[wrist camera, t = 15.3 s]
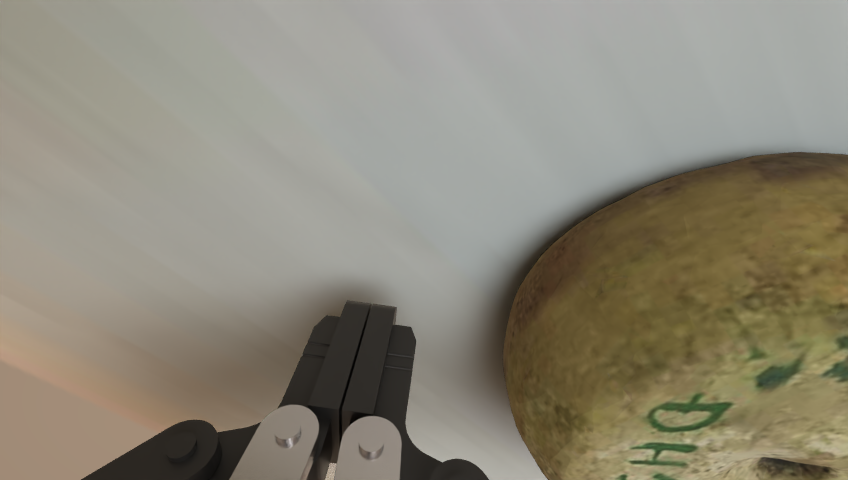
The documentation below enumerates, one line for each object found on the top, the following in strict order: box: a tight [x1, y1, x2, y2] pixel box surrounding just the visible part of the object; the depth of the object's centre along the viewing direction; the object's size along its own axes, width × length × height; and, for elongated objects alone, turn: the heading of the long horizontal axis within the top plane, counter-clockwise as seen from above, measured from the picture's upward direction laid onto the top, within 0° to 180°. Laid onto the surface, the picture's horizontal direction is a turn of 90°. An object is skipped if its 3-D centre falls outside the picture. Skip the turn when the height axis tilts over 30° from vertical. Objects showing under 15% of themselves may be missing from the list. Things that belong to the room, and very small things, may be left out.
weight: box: [503, 152, 848, 480], centre depth 12 cm, size 14×14×5 cm
